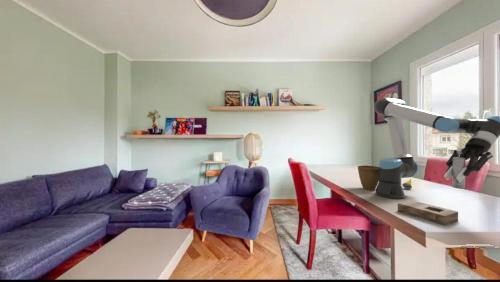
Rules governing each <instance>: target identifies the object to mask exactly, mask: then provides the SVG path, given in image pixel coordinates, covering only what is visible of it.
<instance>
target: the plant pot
mask: <svg viewBox="0 0 500 282" xmlns="http://www.w3.org/2000/svg"><path fill="white" fill-rule="evenodd" d="M357 171H358V176H359V180H360V183H361V186H362V189H363V190H365V191H366V190H367V191H376V188H377V186H378V183H379V166H374V165H366V164H365V165H363V164H362V165H358V166H357Z"/></svg>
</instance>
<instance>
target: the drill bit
mask: <svg viewBox="0 0 500 282" xmlns="http://www.w3.org/2000/svg"><path fill="white" fill-rule="evenodd" d="M402 188H404V189H405V190H408V191H410V190H411V189H412V188H413V186H412V178H410V179H408V180H407V181H405V182H403V183H402Z"/></svg>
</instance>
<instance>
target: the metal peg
mask: <svg viewBox="0 0 500 282" xmlns="http://www.w3.org/2000/svg"><path fill="white" fill-rule="evenodd" d="M463 168H466V160H465V158H462V157H453V174H452V176H451V179H452V183H451V184H452V185H451V187H452V188H454V189H460V190H465V187H466V177H465V178H464V179H463V180H462V182H459V181H458V180H457V179H456V177H457V176H458V174H459V173H460V172H461V171H462V169H463Z"/></svg>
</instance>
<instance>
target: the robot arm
mask: <svg viewBox="0 0 500 282" xmlns="http://www.w3.org/2000/svg"><path fill="white" fill-rule="evenodd" d="M373 110H374V112H375V113H377V114H378V115H380V116H383V119H384V121H386V122H387V126H388V133H389V137H390V143H391V150H392V156H391V157H389V158H387V157H385V158H382V159H380V160H379V164H378V167H379V182H378V185H377V187H376V189H375V195H377V196H380V197H382V198H388V199H394V200H395V199H396V200H397V199H398V200H402V199H405V198H406V197H405V191H404V189H403V188H404V187H403V185H402V179H404V178H412V177H414V176H416V175H417V174H418V173H419V170H420V166H419V164H418V162H416V161H415V159H414V156H413V155H411V154H410V150H409V145H408V141H407V140H408V139H407V134H406V130H405V124H404V121H405V120H406V121H409V122H412V123H416V124H419V125H422V126H425V127H429V128H432V129H435V130H437V131H438V132H440V133H441V132H442V133H447V134H450V133H451V134H452V133H453V134H455V133H457V134H458V133H459V134H468V135H469V134H470V135H471V137H470V138H469V140H468V141H467V142H466V143H465V145H464V148H461V150H457V149H454V150H453V153H452V154H451V156H450V157H449V159H448V160H447V161H446V163H445V164H446V166H447V167H448V168H447V169H446V171H445V174H444V175H443V177H444V178H445V180H447V181H450V179H452V174H453V157H462V158H465V161H467V160H468V159H469V160H468V163H467V165H465V168H463V169H462V171H461V172H460V173H459V174H458V176H457V177H456V179H457V180H458V181H459V182H462V180H463V179H464V178H465V179H466V177H468V176H469V175H470V174H471V173H472V172H474V171H475V172H479V171H480V170H481V169H482V168H483V167H484V166H485V164H486V163H487V162H488V161H489V160H491V158H494V156H493V154H492V152H491V151H489V150H490V149H491V148H492V146H493V145H494V143H495V142H496V141H497V140H498V138H499V137H500V116H499V115H491V116H487V117H485V118H484V119H474V118H472V119H471V118H462V117H452V116H448V115H443V114H439V113H435V112H431V111H427V110H423V109H420V108H419V109H418V108H415V107H411V106H408V105H407V104H406V102H405V101H404V100H402V99H400V98H390V97H382V98H379V99H377V100H376V102H375V103H374V105H373Z"/></svg>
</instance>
